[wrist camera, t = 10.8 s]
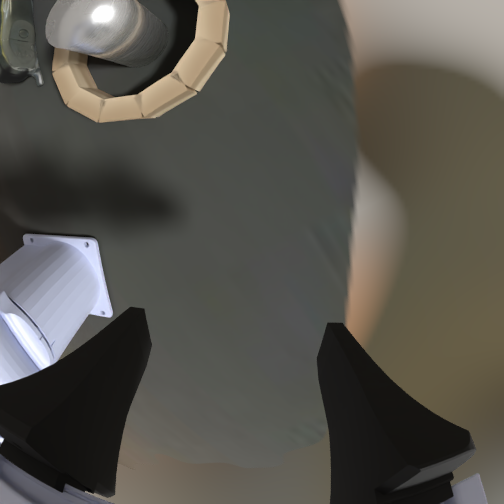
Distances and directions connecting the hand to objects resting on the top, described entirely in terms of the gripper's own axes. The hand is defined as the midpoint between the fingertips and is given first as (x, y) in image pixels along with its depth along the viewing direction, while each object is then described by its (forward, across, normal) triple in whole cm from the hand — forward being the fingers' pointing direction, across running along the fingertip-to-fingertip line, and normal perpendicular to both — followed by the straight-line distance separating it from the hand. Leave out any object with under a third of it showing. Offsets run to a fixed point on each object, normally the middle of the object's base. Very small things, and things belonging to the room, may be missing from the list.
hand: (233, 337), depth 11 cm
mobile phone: (+11, +21, -19) cm, 30 cm away
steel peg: (+10, +8, -14) cm, 19 cm away
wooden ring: (+10, +8, -14) cm, 19 cm away
